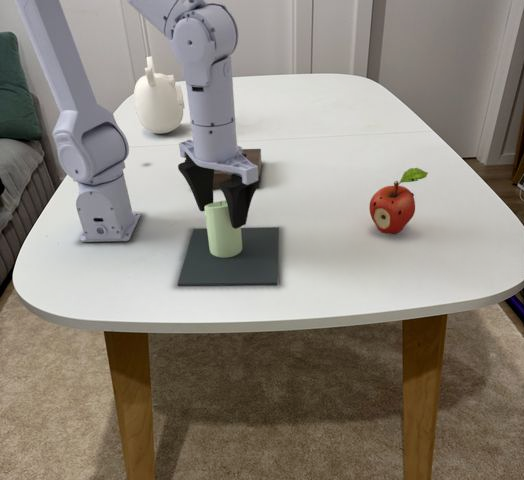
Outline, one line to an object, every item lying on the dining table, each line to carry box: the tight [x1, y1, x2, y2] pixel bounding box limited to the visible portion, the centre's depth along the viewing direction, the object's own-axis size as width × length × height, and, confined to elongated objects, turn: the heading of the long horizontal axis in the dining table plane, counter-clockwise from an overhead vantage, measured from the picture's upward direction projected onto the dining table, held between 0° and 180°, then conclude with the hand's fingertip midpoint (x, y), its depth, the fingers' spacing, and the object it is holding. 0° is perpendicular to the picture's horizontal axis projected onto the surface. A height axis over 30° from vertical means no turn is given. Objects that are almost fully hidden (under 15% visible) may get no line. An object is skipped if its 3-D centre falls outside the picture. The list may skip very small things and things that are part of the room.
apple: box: [368, 167, 429, 236], centre depth 78 cm, size 8×7×10 cm
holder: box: [213, 148, 262, 190], centre depth 99 cm, size 12×12×3 cm
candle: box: [204, 200, 242, 258], centre depth 75 cm, size 5×5×8 cm
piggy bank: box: [133, 55, 185, 135], centre depth 116 cm, size 12×12×15 cm
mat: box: [177, 226, 280, 287], centre depth 77 cm, size 16×14×1 cm
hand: (222, 217), depth 74 cm, fingers open, 7 cm apart
